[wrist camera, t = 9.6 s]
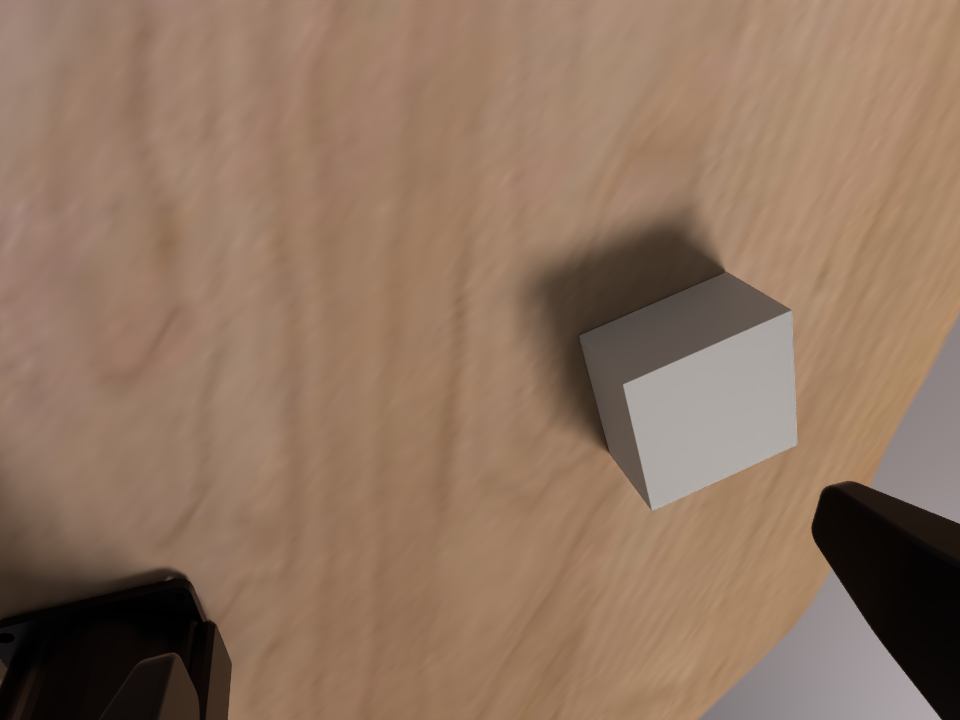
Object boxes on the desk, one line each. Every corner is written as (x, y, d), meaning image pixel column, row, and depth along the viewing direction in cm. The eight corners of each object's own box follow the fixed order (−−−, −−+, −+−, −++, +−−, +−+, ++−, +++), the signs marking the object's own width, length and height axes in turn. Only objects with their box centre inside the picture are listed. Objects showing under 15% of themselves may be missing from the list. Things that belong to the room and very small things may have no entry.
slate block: (609, 454, 26) (652, 511, 23) (578, 335, 23) (623, 384, 20) (739, 395, 26) (797, 444, 23) (726, 271, 23) (791, 310, 20)
